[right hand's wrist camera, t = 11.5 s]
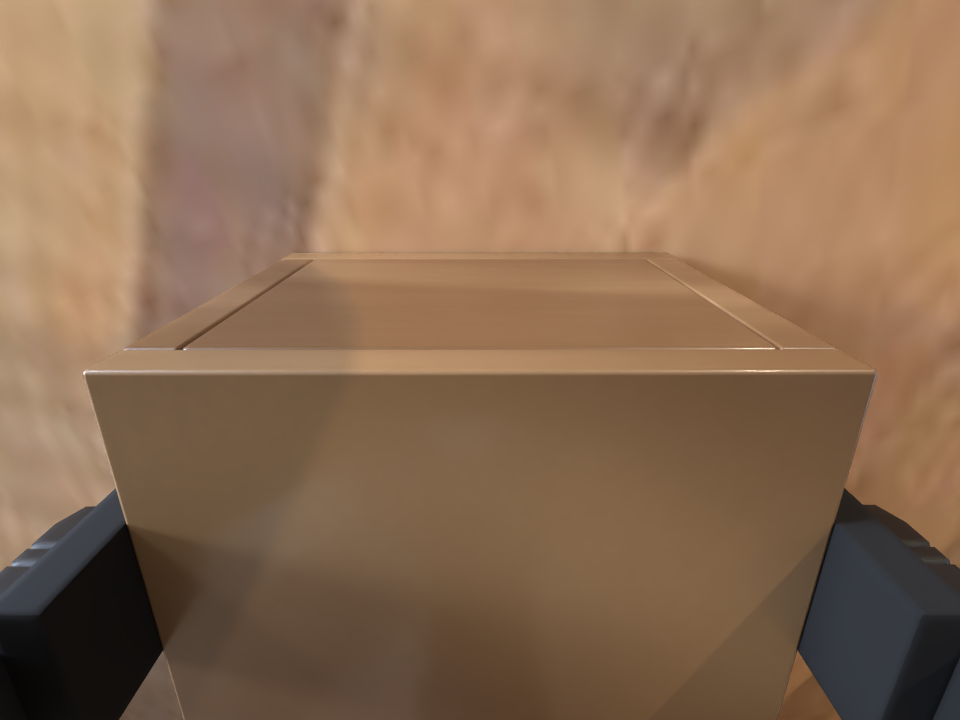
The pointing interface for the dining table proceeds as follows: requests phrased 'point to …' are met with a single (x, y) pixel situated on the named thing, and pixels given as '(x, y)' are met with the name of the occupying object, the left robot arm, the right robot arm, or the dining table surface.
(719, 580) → the cabinet
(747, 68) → the dining table surface
